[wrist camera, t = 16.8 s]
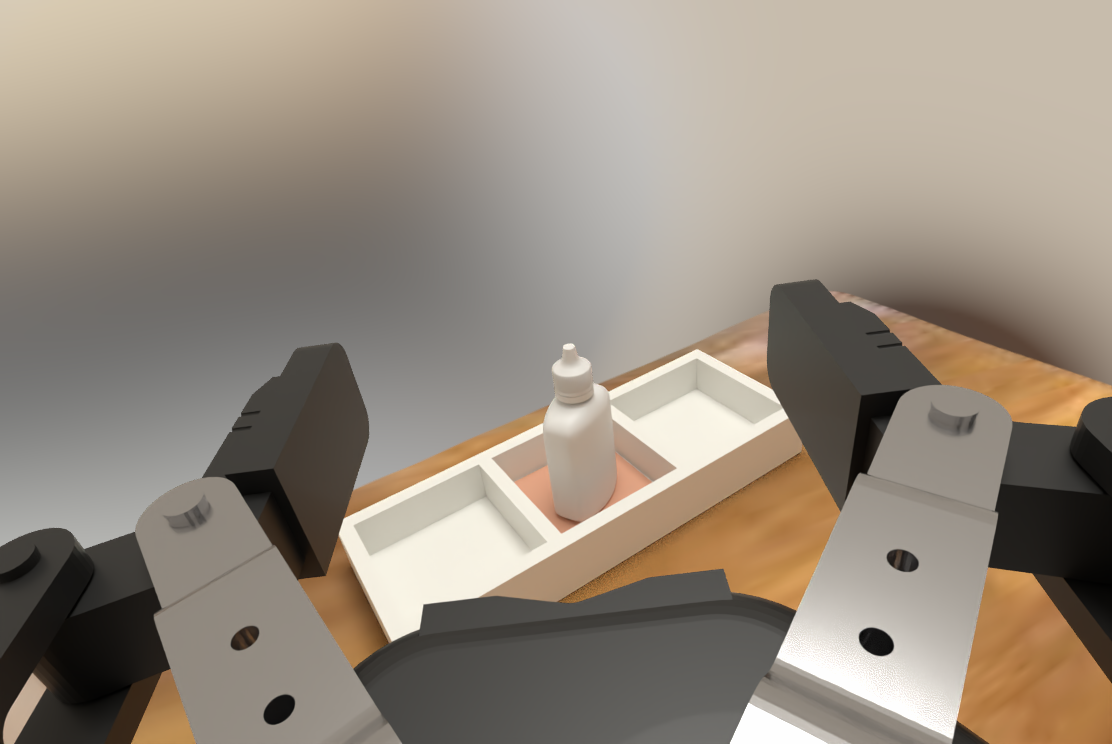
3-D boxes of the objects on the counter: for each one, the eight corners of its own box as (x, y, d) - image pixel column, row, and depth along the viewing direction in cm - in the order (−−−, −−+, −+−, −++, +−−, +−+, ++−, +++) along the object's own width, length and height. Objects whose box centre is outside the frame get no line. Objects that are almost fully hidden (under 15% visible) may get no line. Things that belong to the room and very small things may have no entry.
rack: (697, 388, 57) (697, 349, 54) (801, 451, 48) (805, 407, 46) (351, 566, 44) (333, 523, 42) (412, 690, 36) (394, 646, 34)
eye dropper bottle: (536, 495, 46) (510, 349, 40) (602, 461, 48) (587, 318, 42) (569, 532, 43) (546, 379, 36) (639, 494, 45) (628, 344, 38)
